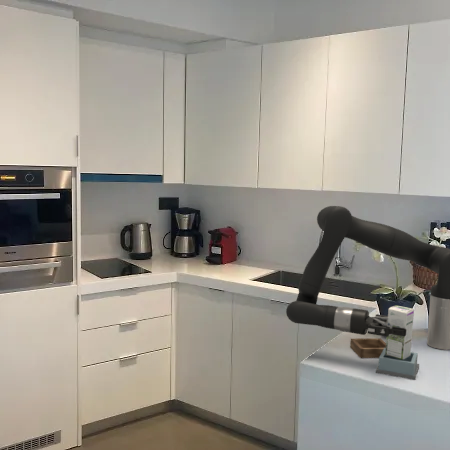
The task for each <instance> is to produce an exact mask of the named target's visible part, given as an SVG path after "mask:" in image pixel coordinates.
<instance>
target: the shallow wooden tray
mask: <svg viewBox="0 0 450 450" xmlns="http://www.w3.org/2000/svg"><path fill="white" fill-rule="evenodd" d="M349 347H350V349H351V350H352V351H353V352H354V353H355V355H357V357H359V359H379V357H380V355H381V353H382V351H383V349H384V348H386V341H384V340H383V339H382V338H380V337H379V338H377V337H376V338H373V337H372V338H367V337H366V338H350V345H349Z"/></svg>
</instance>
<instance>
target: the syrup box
mask: <svg viewBox="0 0 450 450" xmlns="http://www.w3.org/2000/svg"><path fill="white" fill-rule="evenodd" d="M387 313H388V314H387V316H388V323H387V325H390V326H392V327H399V328H405V329H406V336H398V335H389V336H388V337H386V336H385V337H386V338H385V340H386V341H385V343H386V350H385V355H387V356H391V357H394V358H398V359H401V360H404V359H406V358H407V357H409V356H410V355H411V352H412V341H413V340H412V339H413V338H412V337H413V326H414V315H415V308H410V307H405V306H400V305H396V304H395V305H393V306H390V307H389V308H388V312H387Z"/></svg>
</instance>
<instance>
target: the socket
mask: <svg viewBox="0 0 450 450" xmlns="http://www.w3.org/2000/svg"><path fill="white" fill-rule="evenodd" d="M385 350H386V348H384V349H383V351H382V353H381V355H380V357H379V358H378V365H377V366H376V369H375V373H376V374H381V375H386V376H387V375H388V376H392V377H398V378H403V379H409V380H414V381H415V380H416V378H417V375H418V372H419V369H420V363H418V357H419V355H418V354H419V352H413V351H411V355H410V356H409V357H407V358H406V359H404V360H401V359H398V358H394V357H391V356H387V355H385Z"/></svg>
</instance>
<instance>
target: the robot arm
mask: <svg viewBox="0 0 450 450" xmlns="http://www.w3.org/2000/svg"><path fill="white" fill-rule="evenodd" d="M350 211H351V210H349V209H348V208H347V207H345V206H342V205H329V206H327V207H324V208H322V209H321V210H319V212H318V214H317V217H316V222H317V225H318V227H319V228H320V229H321V230H322V231H323V233H322V236H321V239H320V243H318V246H317V248H316V250H315V251H314V253H313V254H312V256H311V257H310V259H309V261H308V263H306V266H305V268H304V270H303V272H302V274H301V275H302V276H301V277H300V281H299V283H298V286H297V289H298V294H297V298H296V300H294V301H292V302H290V303H289V304H288V305H287V307H286V310H285V313H286V316H287V317H286V318H287V319H288V320H290V321H291V322H292V323H294V324H300V325H307V326H308V325H310V326H317V327H321V328H326V329H330V330H331V329H332V330H336V331H340V332H344V333H350V334H356V335H361V336H362V335H363V336H365V335H366V334H368V335H372V336H381V337H388V336H389V335H398V336H406V329H405V328H399V327H392V326H390V325H387V323H388V315H383V314H379V313H378V314H376V313H375V316H370V312H369V311H368V310H367V309H362V308H354V307H348V306H336V305H329V304H327V305H326V304H317V303H318V298H319V295H320V292H321V289H322V287H323V284H324V282H325V279H326V276H327V274H328V271H329V270H330V267H331V264H332V262H333V260H334V258H335V256H336V254H337V252H338V250H339V249H340V246H341V245H342V243H343V241H344V239H346V238H347V239H349V240H351V241H355V242H356V243H359V244H360V245H363V246H364V247H367V248H369V249H371V250H373V251H376V252H379V253H381V254H383V255H385V256H389V257H392V258H396V259H397V260H398V259H399V260H404V261H409V262H410V261H411V262H414V263H416V264H418V265H421V266H423V267H425V268H427V269H429V270H430V271H432V272H434V273H436V274H437V275H438V276H437V282H436V284H434V285H432V286H431V288H430V297H429V298H430V299H429V311H428V312H429V313H428V326H427V337H426V340H427V341H426V342H427V343H426V344H427V346H429V347H431V348H433V349H439V350H445V351H446V350H447V351H450V247H448V248H447V247H444V246H437V245H435V244H430V243H427V242H424V241H421V240H419V239H418V238H417V237H414V236H413V235H411V234H409V233H408V232H405V231H403V230H402V229H398V228H396V227H394V226H393V227H392V225H391V226H390V225H386V224H383V223H380V222H374V221H370V220H366V219H365V220H364V219H362V218H358V217H356V216H353V215H352V213H351V212H350Z"/></svg>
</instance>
